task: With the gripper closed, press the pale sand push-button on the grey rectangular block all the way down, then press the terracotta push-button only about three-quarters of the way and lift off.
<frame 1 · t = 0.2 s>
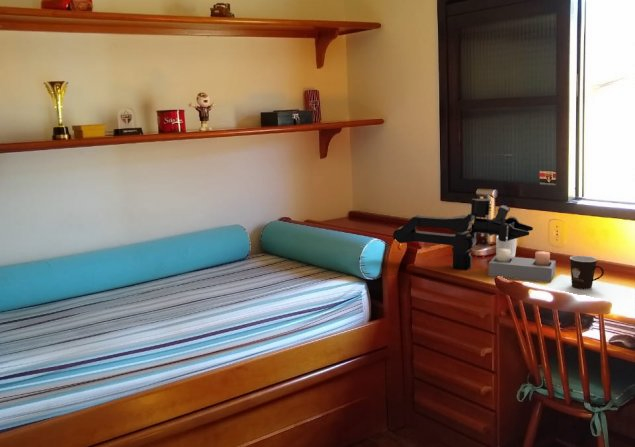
hand: (531, 231, 235), 16 cm above the table, tool horizontal, fingers open, 9 cm apart
coffee mug: (583, 288, 220), on the table
terracotta button: (542, 258, 233), point 7 cm above the table, slide at 0.0 cm
sand button: (503, 255, 239), point 7 cm above the table, slide at 0.0 cm
grey rectangular block: (521, 274, 237), on the table
white cup: (505, 261, 257), on the table
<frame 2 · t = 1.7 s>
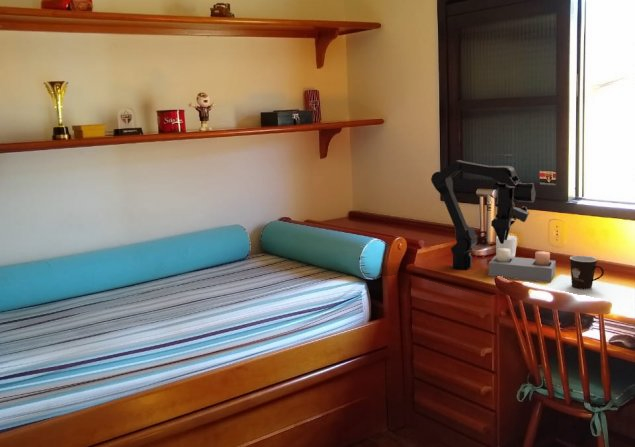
hand: (503, 241, 238), 12 cm above the table, tool pointing down, fingers open, 6 cm apart
nothing on the table moved.
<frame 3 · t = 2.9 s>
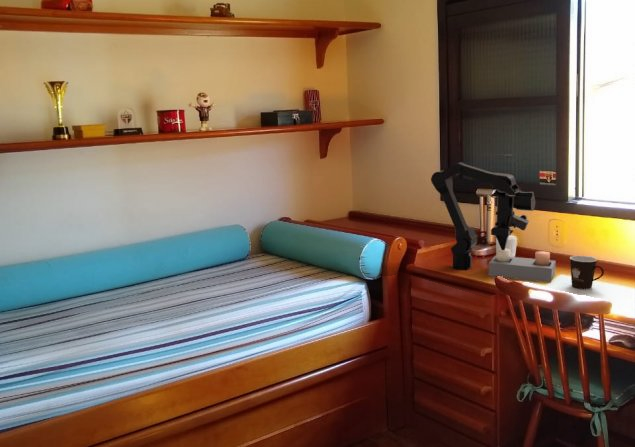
hand: (503, 249, 239), 9 cm above the table, tool pointing down, fingers closed, pressing on sand button
sand button: (503, 255, 239), point 7 cm above the table, slide at 0.1 cm, touching gripper
everything else where it was.
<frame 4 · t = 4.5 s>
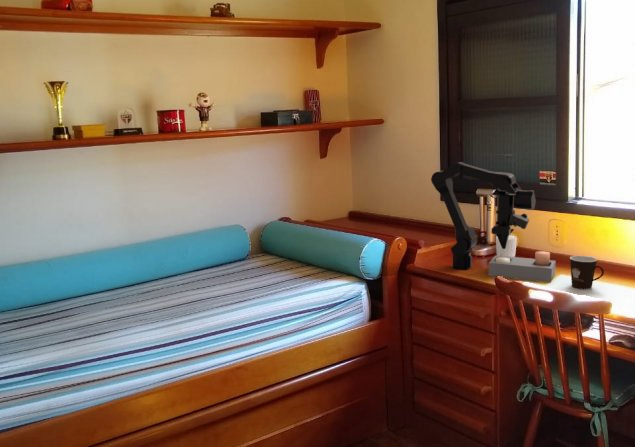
hand: (503, 248, 239), 9 cm above the table, tool pointing down, fingers closed
sand button: (502, 264, 240), point 3 cm above the table, slide at 3.6 cm, touching grey rectangular block
everything else where it was.
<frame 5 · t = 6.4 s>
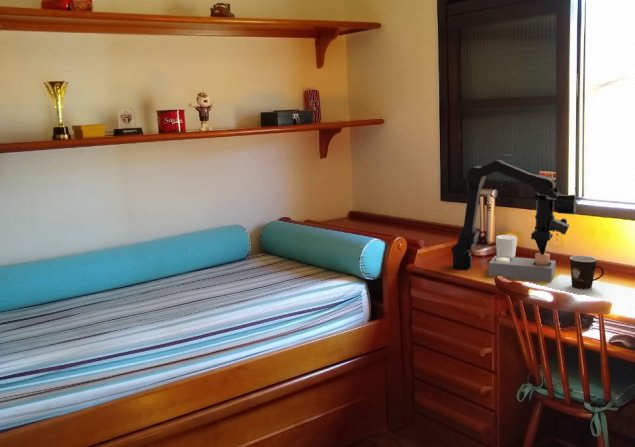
hand: (542, 254, 233), 8 cm above the table, tool pointing down, fingers closed, pressing on terracotta button
terracotta button: (542, 260, 233), point 6 cm above the table, slide at 0.5 cm, touching gripper
everything else where it was.
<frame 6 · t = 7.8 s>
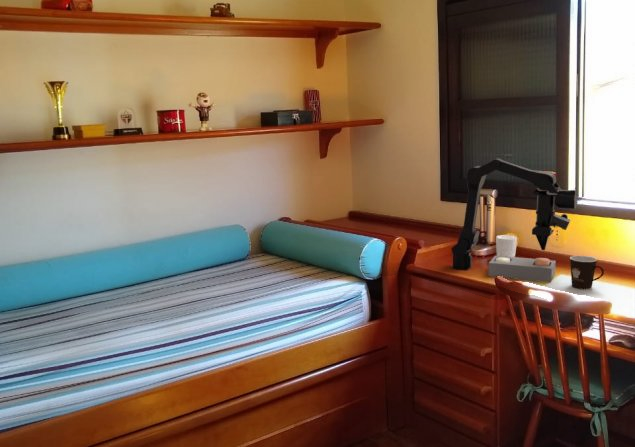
hand: (543, 249, 232), 10 cm above the table, tool pointing down, fingers closed
terracotta button: (542, 265, 234), point 4 cm above the table, slide at 2.5 cm
everything else where it was.
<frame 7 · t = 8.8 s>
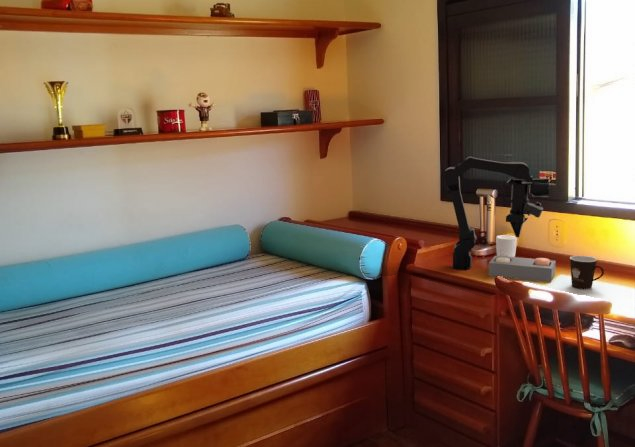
hand: (517, 237, 241), 13 cm above the table, tool pointing down, fingers closed
nothing on the table moved.
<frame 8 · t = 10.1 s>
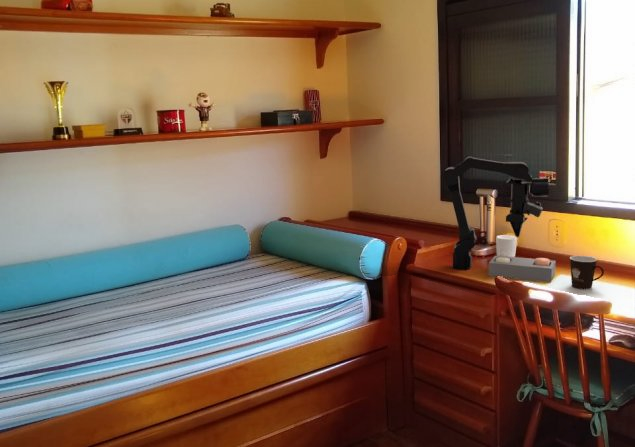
hand: (517, 236, 242), 13 cm above the table, tool pointing down, fingers closed
nothing on the table moved.
at the end: sand button slide at 3.6 cm; terracotta button slide at 2.5 cm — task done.
